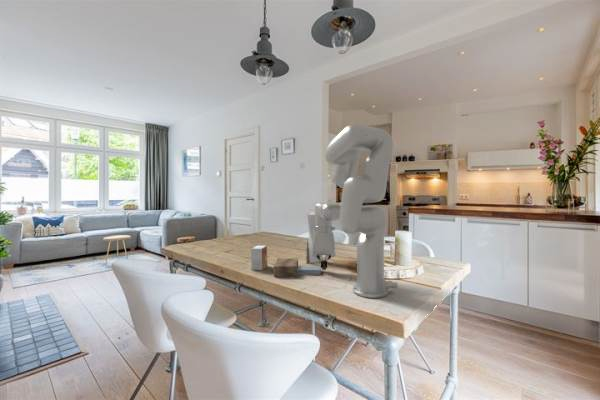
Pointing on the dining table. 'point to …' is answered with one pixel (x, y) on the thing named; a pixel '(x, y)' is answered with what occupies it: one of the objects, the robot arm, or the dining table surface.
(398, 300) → the dining table surface
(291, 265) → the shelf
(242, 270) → the dining table surface
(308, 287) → the dining table surface
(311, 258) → the skyscraper
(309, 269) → the tile
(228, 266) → the dining table surface
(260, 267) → the small box
